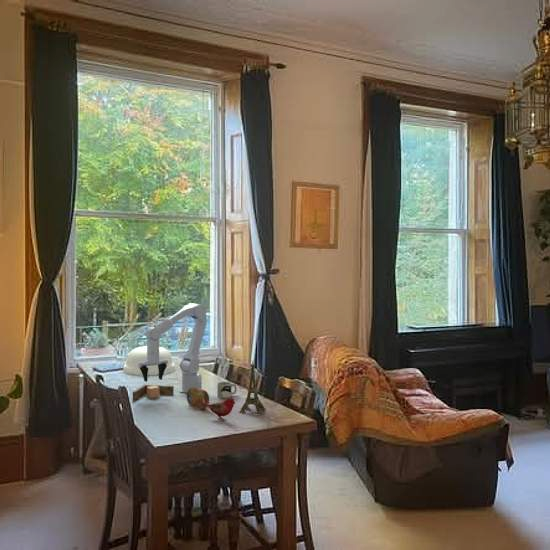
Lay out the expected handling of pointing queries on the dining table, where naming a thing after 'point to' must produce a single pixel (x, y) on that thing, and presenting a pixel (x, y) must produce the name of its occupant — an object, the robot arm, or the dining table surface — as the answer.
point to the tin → (197, 398)
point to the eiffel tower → (254, 399)
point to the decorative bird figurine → (221, 407)
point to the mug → (225, 390)
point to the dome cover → (141, 356)
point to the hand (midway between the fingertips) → (153, 380)
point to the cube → (152, 391)
